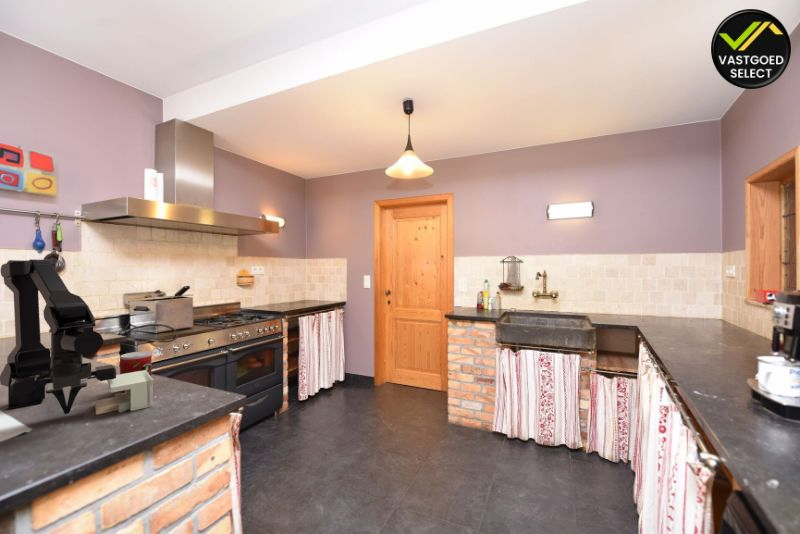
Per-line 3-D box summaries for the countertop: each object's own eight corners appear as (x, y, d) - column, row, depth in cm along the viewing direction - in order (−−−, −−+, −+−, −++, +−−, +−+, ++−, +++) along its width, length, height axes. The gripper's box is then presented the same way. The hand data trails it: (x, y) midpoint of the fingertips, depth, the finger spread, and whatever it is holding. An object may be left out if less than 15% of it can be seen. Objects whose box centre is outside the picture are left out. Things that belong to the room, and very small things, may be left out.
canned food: (134, 395, 101) (134, 357, 101) (112, 393, 103) (112, 356, 103) (158, 386, 109) (158, 351, 109) (137, 385, 110) (137, 350, 110)
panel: (96, 416, 88) (96, 407, 88) (95, 409, 92) (95, 400, 92) (144, 405, 95) (144, 397, 95) (141, 399, 99) (141, 391, 99)
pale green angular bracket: (110, 415, 87) (111, 387, 87) (107, 401, 96) (107, 376, 96) (153, 405, 93) (153, 380, 93) (145, 393, 103) (145, 370, 103)
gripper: (6, 364, 74) (6, 437, 74) (118, 350, 87) (118, 412, 87) (12, 355, 82) (12, 421, 82) (114, 343, 95) (113, 400, 95)
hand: (66, 413), depth 86 cm, fingers closed
